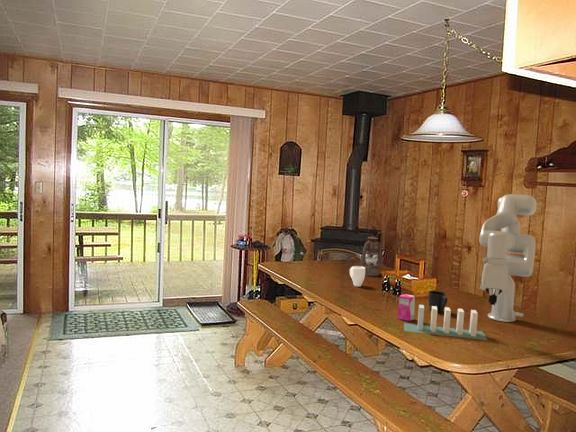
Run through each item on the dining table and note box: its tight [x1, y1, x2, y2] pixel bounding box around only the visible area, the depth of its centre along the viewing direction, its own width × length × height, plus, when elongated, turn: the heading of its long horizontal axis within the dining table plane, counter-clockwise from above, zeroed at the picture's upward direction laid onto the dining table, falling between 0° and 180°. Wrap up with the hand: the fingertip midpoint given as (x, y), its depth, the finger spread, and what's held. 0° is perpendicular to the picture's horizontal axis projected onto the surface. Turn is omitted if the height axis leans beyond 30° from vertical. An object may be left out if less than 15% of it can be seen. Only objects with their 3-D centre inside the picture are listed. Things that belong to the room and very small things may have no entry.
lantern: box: [360, 223, 382, 277], centre depth 335 cm, size 11×16×35 cm
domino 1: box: [417, 304, 425, 331], centre depth 217 cm, size 2×6×10 cm, turn 167°
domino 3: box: [442, 306, 452, 334], centre depth 214 cm, size 2×6×10 cm, turn 167°
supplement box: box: [397, 293, 416, 323], centre depth 231 cm, size 6×6×12 cm
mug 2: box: [349, 265, 366, 288], centre depth 300 cm, size 12×8×11 cm
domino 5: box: [468, 309, 479, 336], centre depth 212 cm, size 2×6×10 cm, turn 167°
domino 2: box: [429, 306, 438, 332], centre depth 215 cm, size 2×6×10 cm, turn 167°
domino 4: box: [455, 308, 465, 335], centre depth 213 cm, size 2×6×10 cm, turn 167°
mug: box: [427, 290, 448, 314], centre depth 247 cm, size 8×12×10 cm
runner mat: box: [403, 322, 488, 341], centre depth 215 cm, size 34×12×1 cm, turn 77°
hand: (492, 304), depth 209 cm, fingers closed
